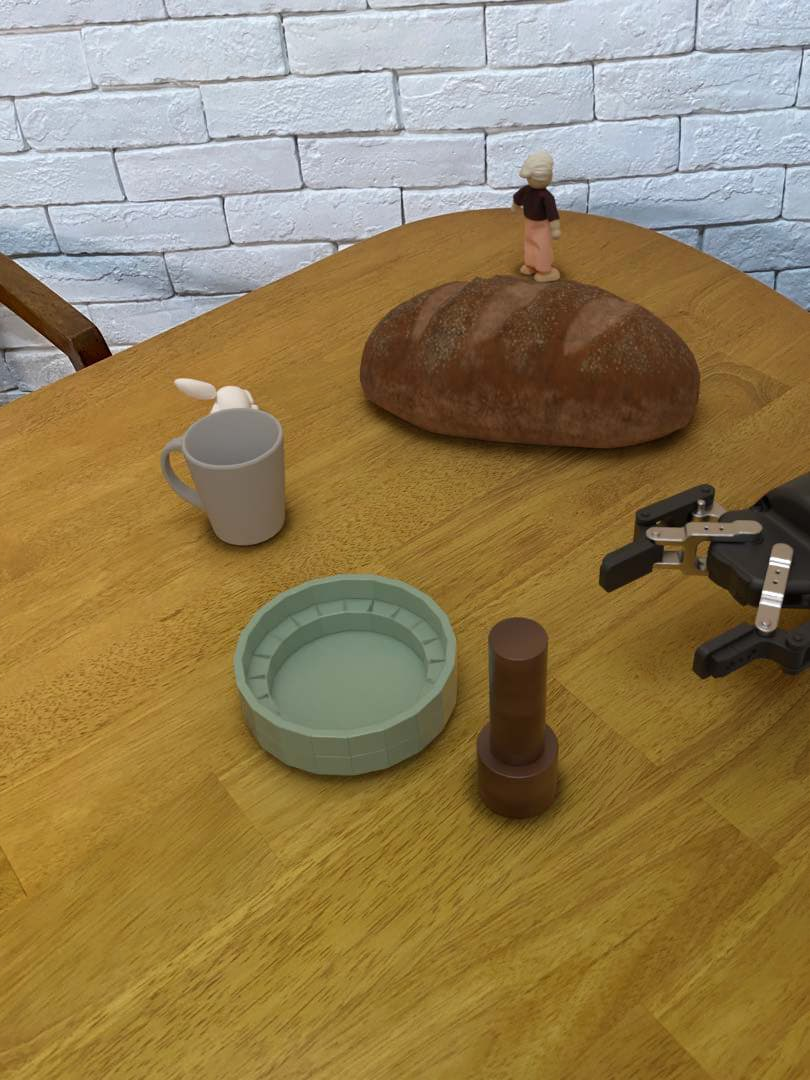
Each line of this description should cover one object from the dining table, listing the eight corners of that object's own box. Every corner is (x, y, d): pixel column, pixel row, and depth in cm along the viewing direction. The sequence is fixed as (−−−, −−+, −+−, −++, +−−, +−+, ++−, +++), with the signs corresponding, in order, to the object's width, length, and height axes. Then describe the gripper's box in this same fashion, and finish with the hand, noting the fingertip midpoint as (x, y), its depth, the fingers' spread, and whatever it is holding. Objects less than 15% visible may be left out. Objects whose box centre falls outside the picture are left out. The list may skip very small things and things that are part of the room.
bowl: (499, 718, 73) (499, 672, 70) (304, 820, 68) (295, 774, 65) (389, 592, 82) (385, 546, 79) (211, 674, 77) (199, 628, 74)
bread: (688, 477, 90) (704, 354, 83) (340, 438, 97) (325, 322, 90) (701, 371, 101) (717, 255, 94) (388, 343, 108) (379, 233, 101)
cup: (281, 560, 86) (265, 471, 80) (158, 548, 88) (134, 460, 82) (308, 497, 91) (295, 410, 86) (192, 487, 93) (172, 401, 88)
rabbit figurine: (280, 428, 99) (207, 431, 93) (255, 451, 101) (183, 455, 95) (254, 370, 100) (181, 370, 94) (231, 394, 103) (158, 395, 97)
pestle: (572, 795, 68) (581, 646, 60) (507, 832, 66) (506, 685, 58) (526, 742, 71) (528, 594, 63) (462, 776, 70) (455, 629, 61)
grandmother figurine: (577, 276, 116) (582, 155, 108) (552, 290, 114) (555, 168, 106) (521, 253, 120) (522, 136, 112) (497, 266, 119) (496, 148, 110)
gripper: (775, 417, 74) (576, 507, 68) (956, 534, 65) (743, 650, 59) (758, 505, 79) (571, 596, 73) (924, 626, 69) (724, 741, 64)
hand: (648, 620), depth 66 cm, fingers open, 8 cm apart
